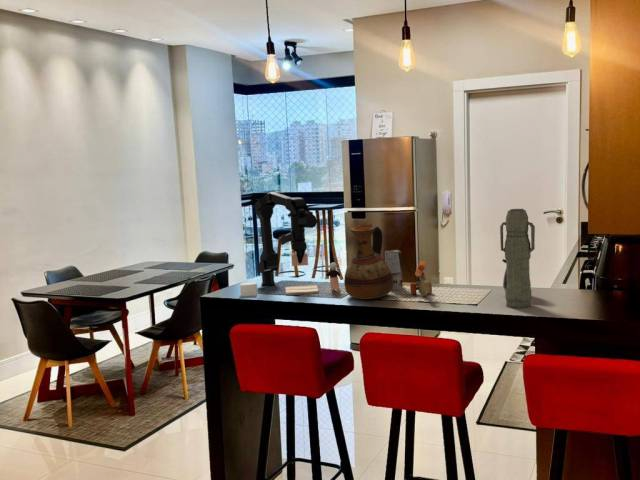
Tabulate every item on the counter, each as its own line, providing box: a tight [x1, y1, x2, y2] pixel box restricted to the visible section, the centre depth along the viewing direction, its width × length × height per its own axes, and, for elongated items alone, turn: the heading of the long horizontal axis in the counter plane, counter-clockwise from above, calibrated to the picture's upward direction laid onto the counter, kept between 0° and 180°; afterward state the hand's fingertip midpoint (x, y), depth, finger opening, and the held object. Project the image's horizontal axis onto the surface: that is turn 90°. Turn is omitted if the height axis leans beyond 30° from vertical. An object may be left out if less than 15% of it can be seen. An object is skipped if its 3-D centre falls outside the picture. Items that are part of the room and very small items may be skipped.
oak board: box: [285, 284, 319, 296], centre depth 274 cm, size 14×14×1 cm
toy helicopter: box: [409, 260, 433, 298], centre depth 247 cm, size 8×21×14 cm, turn 1°
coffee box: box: [384, 249, 404, 291], centre depth 268 cm, size 9×6×16 cm
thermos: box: [499, 208, 536, 309], centre depth 223 cm, size 9×12×35 cm
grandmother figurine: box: [324, 261, 343, 293], centre depth 269 cm, size 8×4×13 cm, turn 84°
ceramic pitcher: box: [343, 223, 393, 300], centre depth 253 cm, size 20×20×30 cm
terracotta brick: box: [290, 251, 309, 267], centre depth 272 cm, size 4×7×5 cm, turn 94°
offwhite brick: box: [239, 281, 258, 297], centre depth 272 cm, size 4×7×5 cm, turn 94°
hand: (299, 262), depth 272 cm, fingers closed on terracotta brick, 4 cm apart
